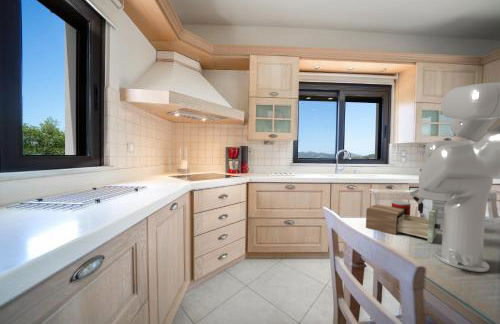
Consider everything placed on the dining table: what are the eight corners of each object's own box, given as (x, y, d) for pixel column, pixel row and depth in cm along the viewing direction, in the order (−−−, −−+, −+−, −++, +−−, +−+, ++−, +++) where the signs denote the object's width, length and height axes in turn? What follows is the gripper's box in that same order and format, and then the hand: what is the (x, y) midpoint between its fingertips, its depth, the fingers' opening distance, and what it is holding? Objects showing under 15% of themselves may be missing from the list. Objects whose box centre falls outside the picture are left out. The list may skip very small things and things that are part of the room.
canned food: (403, 221, 112) (404, 200, 112) (413, 226, 104) (414, 204, 104) (387, 220, 113) (388, 200, 112) (396, 226, 105) (397, 203, 105)
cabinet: (395, 234, 93) (396, 214, 93) (365, 227, 102) (366, 208, 102) (403, 227, 103) (404, 208, 103) (375, 221, 112) (376, 204, 111)
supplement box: (454, 231, 98) (456, 195, 98) (430, 230, 100) (432, 194, 100) (440, 225, 108) (442, 191, 107) (419, 223, 110) (421, 190, 109)
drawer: (437, 244, 84) (439, 214, 83) (395, 233, 94) (397, 207, 93) (441, 235, 93) (442, 208, 93) (403, 226, 103) (404, 202, 102)
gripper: (407, 171, 92) (405, 212, 93) (465, 174, 80) (462, 222, 81) (411, 170, 98) (409, 209, 98) (466, 173, 85) (463, 218, 86)
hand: (433, 214), depth 90 cm, fingers open, 7 cm apart
